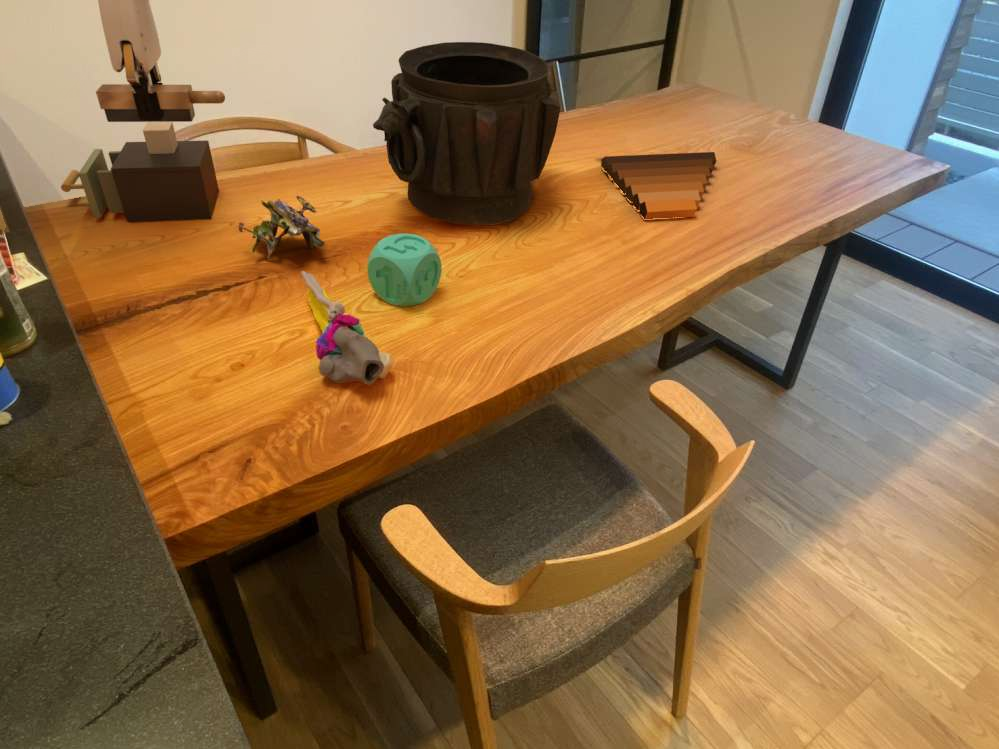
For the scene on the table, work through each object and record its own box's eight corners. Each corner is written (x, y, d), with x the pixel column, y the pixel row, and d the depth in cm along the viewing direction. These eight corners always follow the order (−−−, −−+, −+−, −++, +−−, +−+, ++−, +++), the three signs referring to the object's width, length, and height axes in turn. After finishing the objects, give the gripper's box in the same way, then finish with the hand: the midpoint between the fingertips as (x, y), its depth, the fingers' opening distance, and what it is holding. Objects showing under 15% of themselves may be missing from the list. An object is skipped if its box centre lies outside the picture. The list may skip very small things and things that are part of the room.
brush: (104, 122, 103) (95, 91, 101) (111, 114, 106) (102, 84, 103) (227, 122, 106) (221, 92, 104) (230, 114, 109) (224, 84, 106)
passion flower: (313, 275, 118) (343, 235, 109) (257, 288, 110) (284, 246, 102) (282, 221, 119) (308, 177, 111) (223, 230, 111) (247, 183, 103)
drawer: (66, 218, 116) (49, 174, 111) (82, 192, 124) (67, 149, 119) (172, 214, 119) (160, 171, 114) (181, 189, 127) (171, 147, 122)
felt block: (149, 154, 117) (142, 130, 114) (153, 145, 120) (147, 122, 117) (174, 153, 118) (168, 130, 115) (177, 144, 121) (172, 121, 118)
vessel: (366, 228, 120) (355, 79, 105) (413, 159, 145) (409, 30, 129) (540, 250, 118) (555, 100, 102) (557, 176, 142) (572, 46, 127)
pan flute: (706, 163, 152) (599, 168, 147) (710, 148, 150) (602, 153, 145) (765, 214, 133) (645, 222, 128) (770, 198, 131) (648, 205, 126)
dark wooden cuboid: (127, 222, 118) (110, 168, 112) (141, 193, 126) (125, 141, 120) (211, 219, 120) (199, 166, 114) (219, 191, 129) (208, 140, 123)
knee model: (330, 325, 106) (391, 405, 87) (278, 317, 101) (330, 400, 83) (347, 269, 103) (413, 341, 84) (294, 258, 98) (352, 331, 80)
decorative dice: (368, 295, 104) (364, 248, 99) (401, 273, 110) (399, 227, 105) (410, 313, 101) (409, 265, 96) (442, 289, 107) (442, 243, 101)
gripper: (105, -34, 100) (140, 97, 111) (71, -10, 87) (114, 134, 99) (161, -32, 101) (189, 97, 113) (135, -9, 88) (170, 134, 100)
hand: (154, 113), depth 105 cm, fingers closed on brush, 3 cm apart
